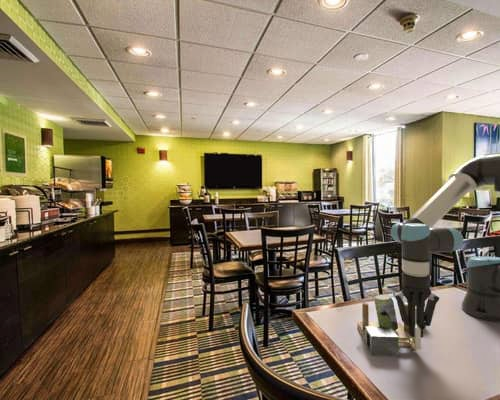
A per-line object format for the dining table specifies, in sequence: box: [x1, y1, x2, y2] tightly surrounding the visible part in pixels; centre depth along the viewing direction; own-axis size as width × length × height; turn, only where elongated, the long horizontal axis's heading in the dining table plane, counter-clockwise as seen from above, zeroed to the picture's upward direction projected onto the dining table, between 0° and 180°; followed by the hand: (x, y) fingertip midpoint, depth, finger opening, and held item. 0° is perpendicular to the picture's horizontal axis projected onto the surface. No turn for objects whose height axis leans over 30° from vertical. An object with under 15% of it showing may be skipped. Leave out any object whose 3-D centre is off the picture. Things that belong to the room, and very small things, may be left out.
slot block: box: [365, 326, 400, 358], centre depth 85 cm, size 8×6×6 cm
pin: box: [398, 338, 417, 352], centre depth 84 cm, size 10×4×4 cm, turn 83°
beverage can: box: [374, 294, 398, 331], centre depth 93 cm, size 6×7×12 cm
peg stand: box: [356, 302, 411, 342], centre depth 93 cm, size 17×10×11 cm, turn 83°
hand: (415, 346), depth 83 cm, fingers closed
